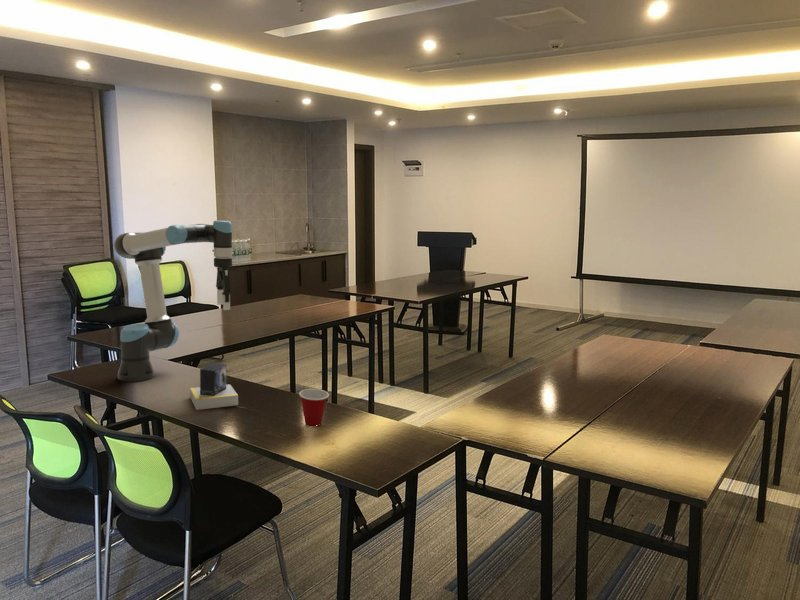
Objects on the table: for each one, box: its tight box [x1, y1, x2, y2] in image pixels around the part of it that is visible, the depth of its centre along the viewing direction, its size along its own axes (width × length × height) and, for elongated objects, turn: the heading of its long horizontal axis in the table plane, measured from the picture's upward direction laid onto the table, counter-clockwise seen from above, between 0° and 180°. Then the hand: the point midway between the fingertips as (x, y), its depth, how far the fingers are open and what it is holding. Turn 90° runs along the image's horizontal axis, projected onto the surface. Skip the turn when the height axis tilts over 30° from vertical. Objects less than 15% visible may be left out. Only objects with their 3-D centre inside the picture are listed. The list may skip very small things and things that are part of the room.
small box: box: [199, 362, 227, 396], centre depth 251 cm, size 11×6×10 cm, turn 168°
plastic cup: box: [298, 388, 330, 427], centre depth 230 cm, size 11×11×12 cm
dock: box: [189, 384, 239, 411], centre depth 253 cm, size 16×16×4 cm
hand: (223, 307), depth 269 cm, fingers open, 13 cm apart
